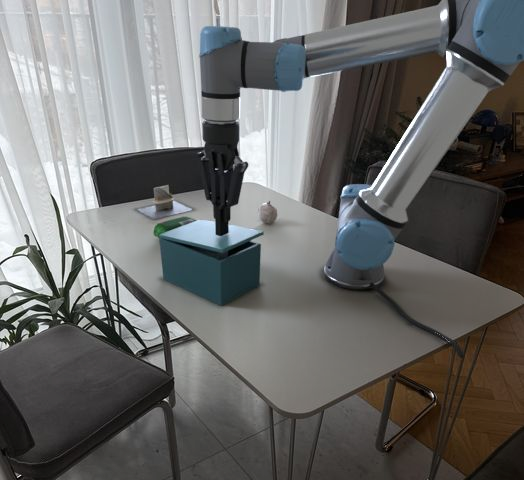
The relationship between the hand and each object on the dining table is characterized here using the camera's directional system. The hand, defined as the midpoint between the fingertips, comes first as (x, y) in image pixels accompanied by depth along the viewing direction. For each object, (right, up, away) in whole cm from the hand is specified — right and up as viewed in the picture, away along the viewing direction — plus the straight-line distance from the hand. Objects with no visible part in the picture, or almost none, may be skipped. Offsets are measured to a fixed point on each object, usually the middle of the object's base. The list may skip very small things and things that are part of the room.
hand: (222, 233), depth 107 cm
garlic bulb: (+11, +15, +45) cm, 48 cm away
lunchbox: (-4, -9, +10) cm, 14 cm away
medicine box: (-4, -9, +10) cm, 14 cm away
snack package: (-15, +7, +32) cm, 36 cm away
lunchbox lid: (-3, 0, +3) cm, 4 cm away
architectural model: (-23, +20, +51) cm, 59 cm away
